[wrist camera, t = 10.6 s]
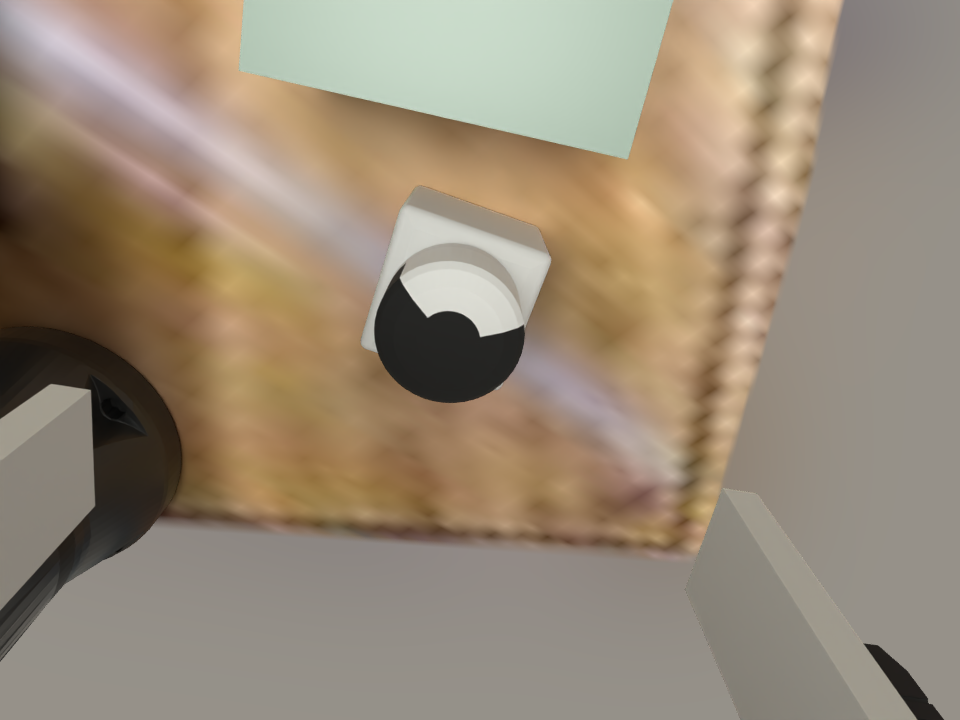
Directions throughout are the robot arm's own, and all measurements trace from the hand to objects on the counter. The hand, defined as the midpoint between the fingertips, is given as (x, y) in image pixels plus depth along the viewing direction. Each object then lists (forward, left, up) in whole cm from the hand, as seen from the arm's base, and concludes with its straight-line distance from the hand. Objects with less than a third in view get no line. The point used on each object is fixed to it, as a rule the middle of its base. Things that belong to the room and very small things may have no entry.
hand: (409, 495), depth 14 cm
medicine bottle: (-1, 0, -25) cm, 25 cm away
